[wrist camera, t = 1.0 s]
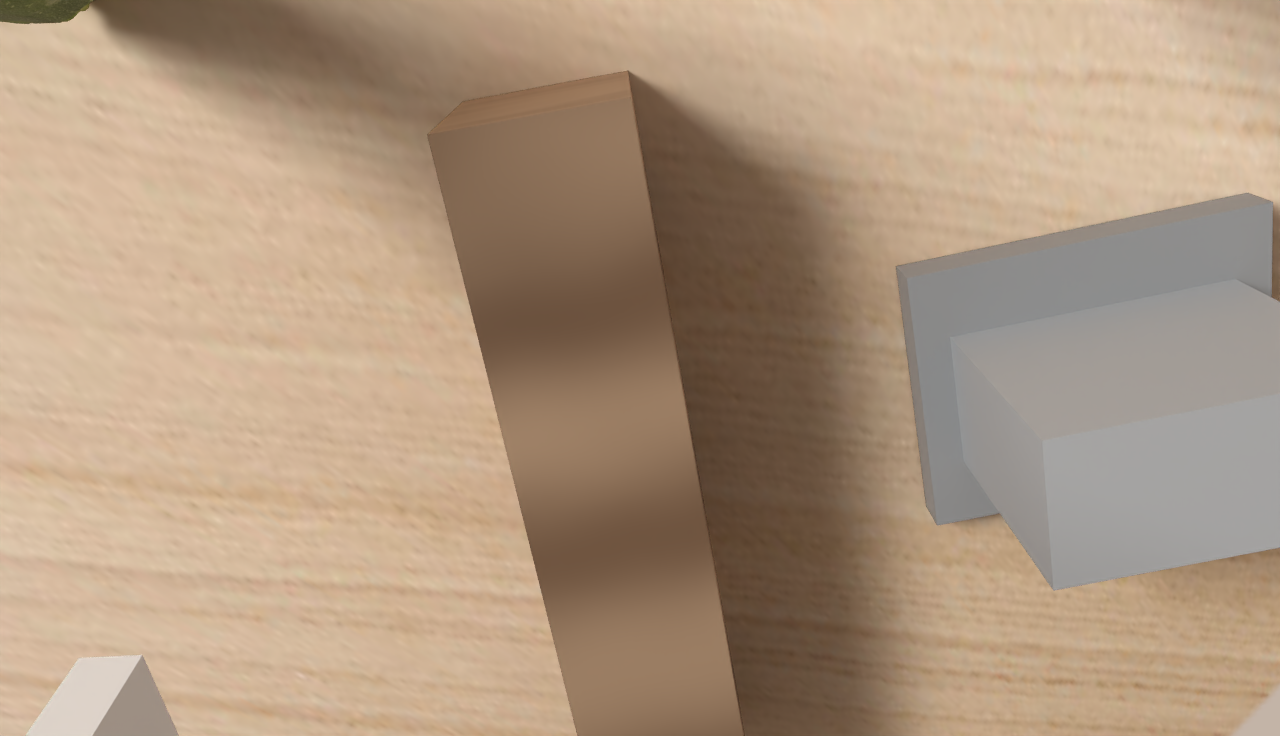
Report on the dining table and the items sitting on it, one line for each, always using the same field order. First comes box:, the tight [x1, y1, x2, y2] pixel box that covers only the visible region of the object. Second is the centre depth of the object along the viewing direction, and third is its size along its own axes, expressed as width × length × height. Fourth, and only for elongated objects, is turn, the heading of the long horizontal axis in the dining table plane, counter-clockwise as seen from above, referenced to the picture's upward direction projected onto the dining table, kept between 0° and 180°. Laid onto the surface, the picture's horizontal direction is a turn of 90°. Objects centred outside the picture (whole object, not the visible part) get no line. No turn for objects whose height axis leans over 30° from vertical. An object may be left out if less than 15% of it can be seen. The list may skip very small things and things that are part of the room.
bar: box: [427, 71, 745, 736], centre depth 29 cm, size 22×4×6 cm, turn 10°
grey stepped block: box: [896, 193, 1280, 590], centre depth 27 cm, size 8×10×8 cm
